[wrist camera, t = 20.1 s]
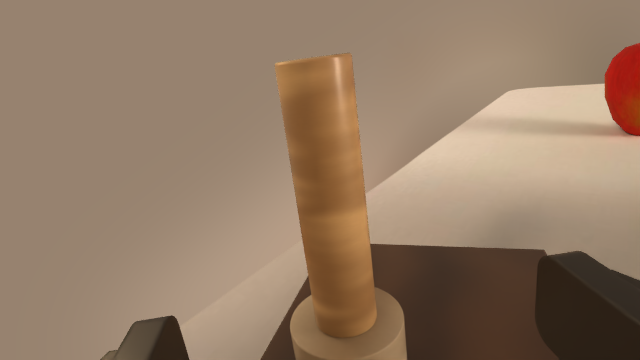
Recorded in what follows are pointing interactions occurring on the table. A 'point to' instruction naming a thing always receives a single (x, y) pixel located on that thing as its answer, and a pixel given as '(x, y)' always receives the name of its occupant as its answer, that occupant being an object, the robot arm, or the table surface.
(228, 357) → the table surface
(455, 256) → the board
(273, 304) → the table surface
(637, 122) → the apple
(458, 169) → the table surface
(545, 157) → the table surface
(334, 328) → the wooden peg stand
